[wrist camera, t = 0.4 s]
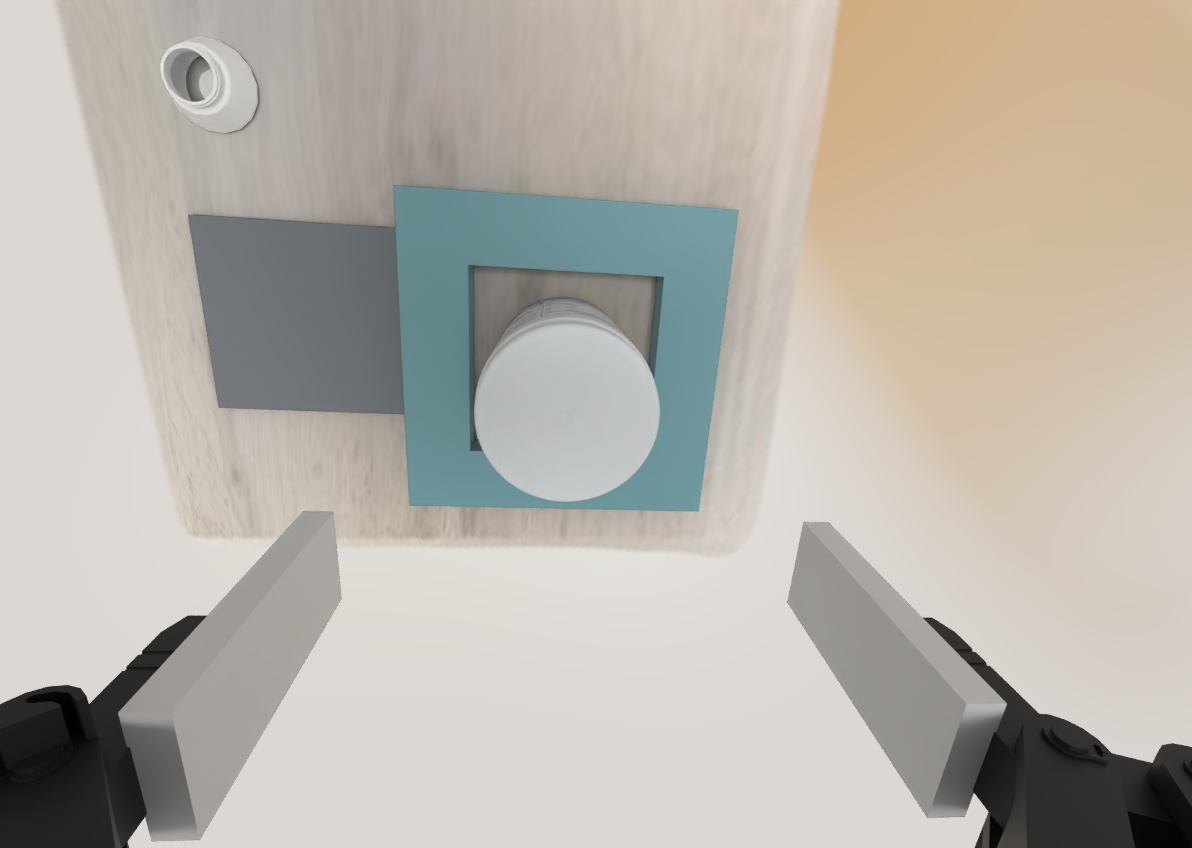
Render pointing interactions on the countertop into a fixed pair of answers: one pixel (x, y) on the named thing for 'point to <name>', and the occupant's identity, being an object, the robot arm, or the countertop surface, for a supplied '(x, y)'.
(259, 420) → the countertop surface
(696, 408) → the holder frame
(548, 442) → the supplement tub
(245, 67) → the white jar
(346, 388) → the slate mat
